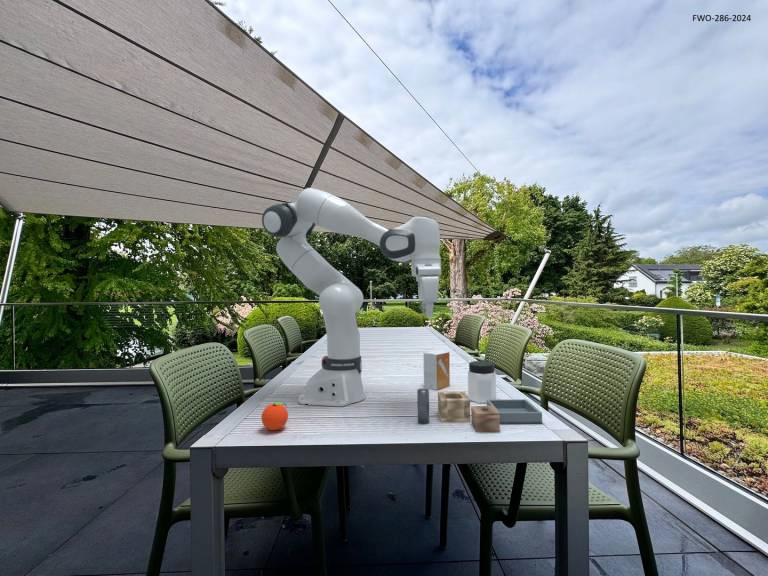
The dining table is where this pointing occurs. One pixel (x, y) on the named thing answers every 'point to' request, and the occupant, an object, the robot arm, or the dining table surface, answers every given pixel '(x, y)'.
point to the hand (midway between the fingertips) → (427, 316)
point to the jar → (481, 381)
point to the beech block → (453, 407)
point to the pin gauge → (423, 405)
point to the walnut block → (485, 419)
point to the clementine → (274, 416)
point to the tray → (516, 411)
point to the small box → (436, 369)
